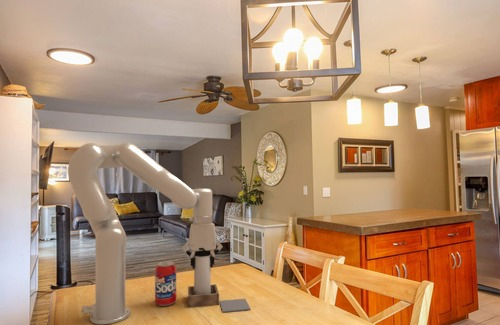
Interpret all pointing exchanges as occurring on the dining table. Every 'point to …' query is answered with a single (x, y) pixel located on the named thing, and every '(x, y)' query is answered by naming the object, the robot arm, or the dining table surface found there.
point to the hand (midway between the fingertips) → (202, 266)
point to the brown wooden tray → (203, 297)
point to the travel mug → (202, 272)
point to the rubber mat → (234, 305)
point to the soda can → (165, 283)
